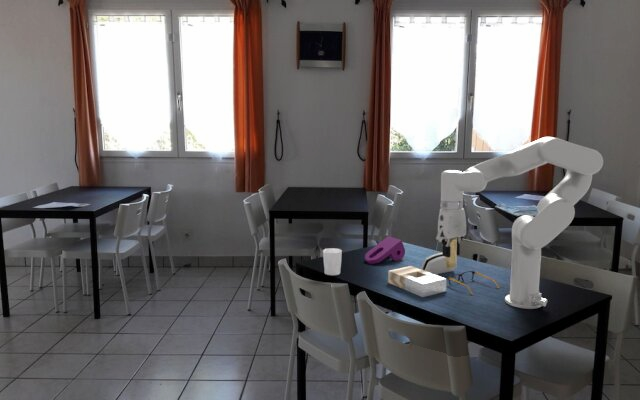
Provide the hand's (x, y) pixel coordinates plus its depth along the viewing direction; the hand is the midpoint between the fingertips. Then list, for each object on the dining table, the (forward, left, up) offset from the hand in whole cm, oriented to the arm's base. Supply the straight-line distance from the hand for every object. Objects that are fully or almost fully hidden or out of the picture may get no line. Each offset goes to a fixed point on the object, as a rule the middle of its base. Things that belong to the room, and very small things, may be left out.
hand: (451, 255), depth 187 cm
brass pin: (0, 0, -4) cm, 4 cm away
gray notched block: (+12, 0, -17) cm, 21 cm away
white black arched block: (+26, -19, -17) cm, 36 cm away
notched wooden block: (+22, 0, -17) cm, 28 cm away
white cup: (+50, +18, -17) cm, 56 cm away
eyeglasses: (+6, -19, -18) cm, 26 cm away
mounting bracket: (+54, -12, -17) cm, 58 cm away
